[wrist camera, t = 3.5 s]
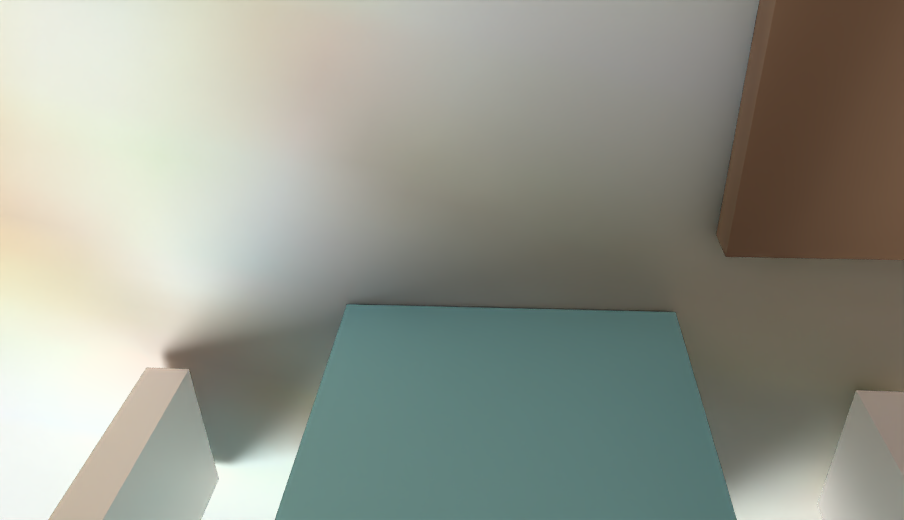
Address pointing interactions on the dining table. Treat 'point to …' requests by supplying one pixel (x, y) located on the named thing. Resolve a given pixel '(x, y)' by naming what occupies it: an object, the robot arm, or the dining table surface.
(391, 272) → the dining table surface
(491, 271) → the dining table surface
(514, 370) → the teal rectangular prism
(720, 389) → the dining table surface
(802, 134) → the stand
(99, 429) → the dining table surface
